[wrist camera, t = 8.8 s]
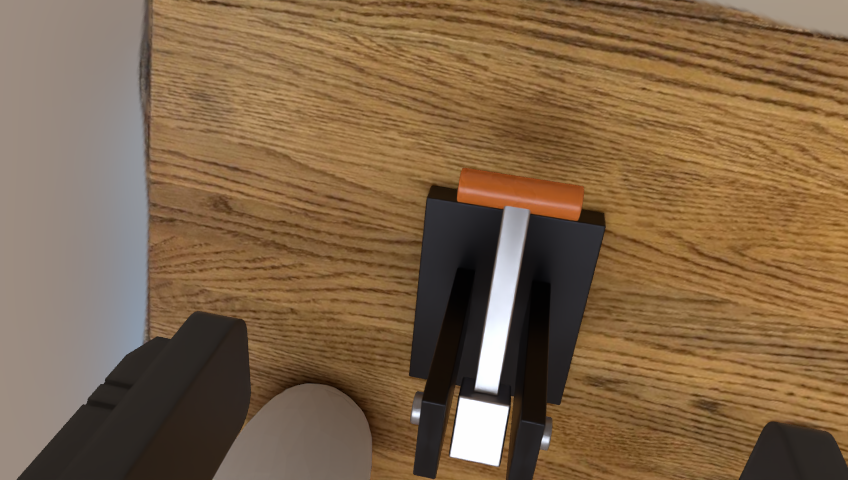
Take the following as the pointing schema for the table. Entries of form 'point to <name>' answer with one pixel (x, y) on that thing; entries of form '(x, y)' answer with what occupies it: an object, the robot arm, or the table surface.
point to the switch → (501, 303)
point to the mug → (302, 439)
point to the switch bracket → (466, 309)
